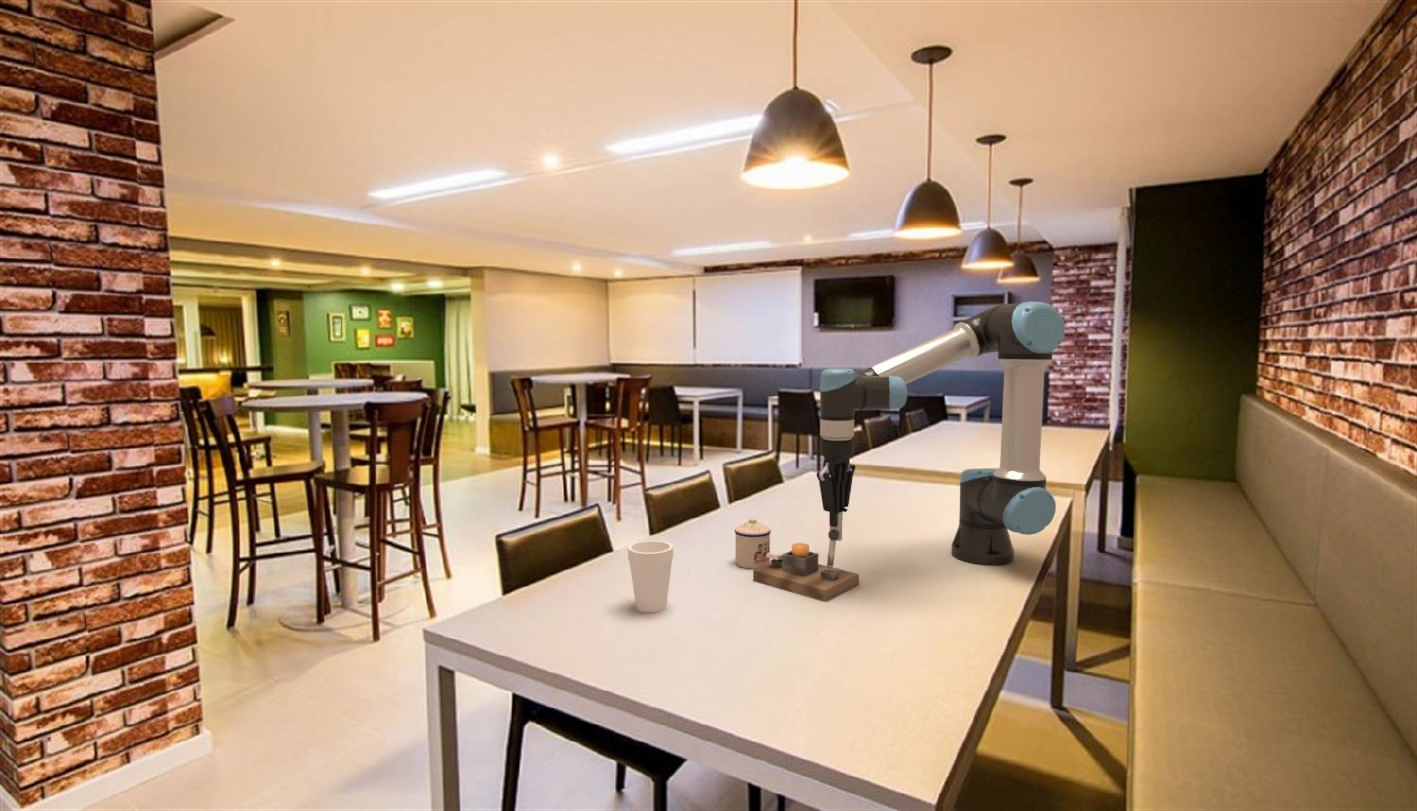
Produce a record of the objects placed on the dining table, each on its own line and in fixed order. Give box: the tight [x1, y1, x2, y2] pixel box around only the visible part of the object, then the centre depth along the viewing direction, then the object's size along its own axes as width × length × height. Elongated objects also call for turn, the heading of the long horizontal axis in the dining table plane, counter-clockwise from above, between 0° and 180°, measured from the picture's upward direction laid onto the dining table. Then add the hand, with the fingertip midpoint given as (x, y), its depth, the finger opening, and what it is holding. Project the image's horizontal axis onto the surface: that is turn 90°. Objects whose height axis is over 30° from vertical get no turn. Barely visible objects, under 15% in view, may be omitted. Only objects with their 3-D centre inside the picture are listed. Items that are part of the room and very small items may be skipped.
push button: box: [791, 542, 810, 558], centre depth 161 cm, size 4×4×3 cm
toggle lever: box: [826, 529, 839, 569], centre depth 156 cm, size 2×2×9 cm
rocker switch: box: [766, 551, 787, 560], centre depth 165 cm, size 3×6×1 cm, turn 138°
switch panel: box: [752, 550, 860, 603], centre depth 160 cm, size 20×14×6 cm
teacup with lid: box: [734, 517, 772, 570], centre depth 175 cm, size 12×9×12 cm
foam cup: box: [627, 540, 674, 614], centre depth 145 cm, size 10×9×13 cm
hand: (835, 539), depth 157 cm, fingers closed
